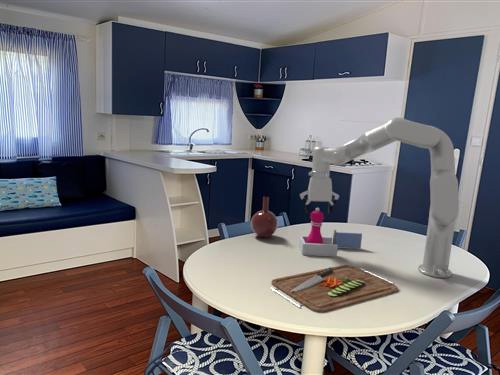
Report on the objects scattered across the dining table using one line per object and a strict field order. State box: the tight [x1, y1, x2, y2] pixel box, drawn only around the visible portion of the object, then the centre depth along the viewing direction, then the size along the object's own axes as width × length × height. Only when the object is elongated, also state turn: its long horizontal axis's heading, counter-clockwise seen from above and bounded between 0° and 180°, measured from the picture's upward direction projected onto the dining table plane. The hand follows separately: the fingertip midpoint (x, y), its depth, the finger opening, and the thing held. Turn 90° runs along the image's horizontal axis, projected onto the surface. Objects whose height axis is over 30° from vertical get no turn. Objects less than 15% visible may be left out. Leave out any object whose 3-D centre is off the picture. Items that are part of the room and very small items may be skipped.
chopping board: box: [270, 264, 399, 313], centre depth 150 cm, size 45×27×3 cm, turn 122°
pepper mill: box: [307, 207, 325, 244], centre depth 187 cm, size 7×7×20 cm
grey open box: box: [298, 235, 339, 257], centre depth 188 cm, size 12×15×5 cm
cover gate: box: [332, 229, 363, 249], centre depth 194 cm, size 13×1×8 cm, turn 91°
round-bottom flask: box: [250, 195, 279, 238], centre depth 204 cm, size 13×13×20 cm
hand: (318, 213), depth 185 cm, fingers open, 9 cm apart
